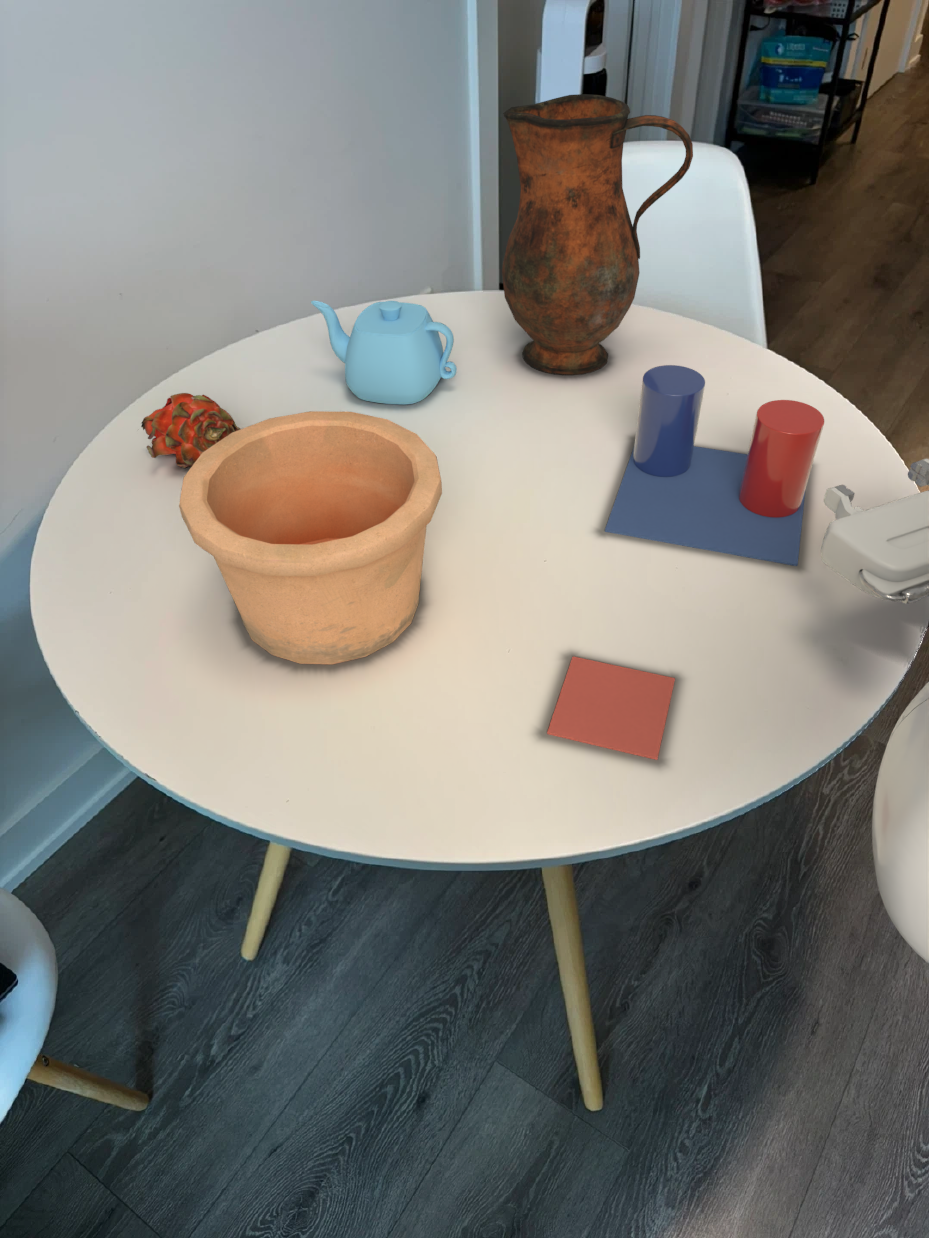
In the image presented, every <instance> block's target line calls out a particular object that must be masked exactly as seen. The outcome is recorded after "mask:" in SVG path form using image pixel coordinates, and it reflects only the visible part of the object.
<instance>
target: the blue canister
mask: <svg viewBox="0 0 929 1238" xmlns="http://www.w3.org/2000/svg"><path fill="white" fill-rule="evenodd" d="M705 387H706V380H705V377H704V376H703V375H702V374H701V373H700V372H698V371H697V370H695V369H693V368H690V367H687V366H683V365H674V364H666V365H665V364H664V365H659V366H655V367H652V368H650V369H648V370H647V371H645V373H644V374H643V376H642V381H641V390H640V396H639V397H640V398H639V406H638V414H637V422H636V430H635V436H634V445H633V448H634V453H633V462H634V464H635V465H636V467H637V468H638V469H640V470H641V471H643V472H645V473H647V474H650V475H653V476H658V477H673V476H677V475H680V474H683V473H684V472H686V471H687V470H688V469H689V468H690V466H691V461H692V455H693V450H694V446H695V443H696V438H697V434H698V433H697V432H698V427H699V422H700V421H699V420H700V415H701V410H702V405H703V404H702V403H703V399H704V393H705Z"/></svg>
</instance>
